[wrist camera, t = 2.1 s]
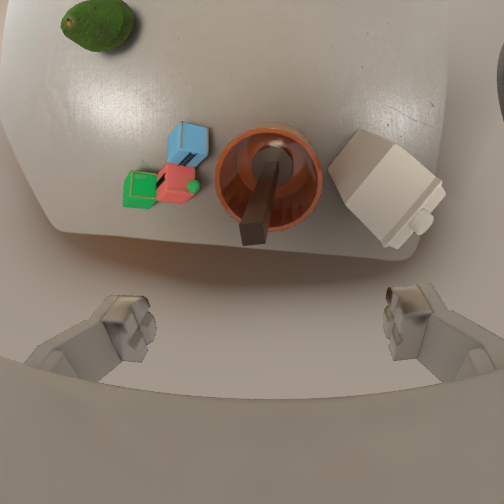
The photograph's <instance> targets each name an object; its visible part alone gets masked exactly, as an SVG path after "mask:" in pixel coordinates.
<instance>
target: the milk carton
mask: <svg viewBox="0 0 504 504" xmlns="http://www.w3.org/2000/svg"><path fill="white" fill-rule="evenodd" d="M327 170H328V172H329V174H330V176H331V178H332V180H333V182H334V184H335V186H336V187H337V189H338V191H339V193H340V195H341V197H342V199H343V201H344V203H345V206H346V207H347V208H348V209H349V210H350V211H351V212H352V213H353V214H354V215H355V216H356V217H357V218H358V219H359V220H360V221H361V222H362V223H363V224H364V225H365V226H366V227H367V228H368V229H369V230H370V231H371V232H372V233H373V234H374V235H375V236H376V237H377V238H378V239H379V240H380V242H381V243H382V245H383V247H384V248H387V247H388V246H391V247H393V248H395V249H399V248H400V247H401V246H402V245H403V244H404V243H405V241H406V240H407V239H408V238H409V237H410V236H411V235H412V234H413V233H414V231H415V233H416V234H417V235H421V234H423V233H424V232H425V231H426V230H427V229H428V228H429V227H430V226H431V224H432V223H433V220H434V217H433V216H432V215H431V214H430V213H431V212H432V211H433V209H434V208H435V207H436V206H437V205H438V204H439V203H440V201H441V200H442V199H443V198H444V196H445V195H446V193H445V191H444V189H443V188H442V186H441V184H442V181H441V180H440V179H438V178H436V177H435V176H434V175H433V174H432V173H431V172H430V171H429V170H428V169H426V168H425V167H424V166H423V165H422V164H421V163H419V162H418V161H417V160H416V159H415V158H414V157H412V156H411V155H410V154H409V153H408V152H406V151H405V150H404V149H403V148H401V147H400V146H399V145H398V144H396V143H394V142H391V141H389V140H387V139H384V138H382V137H379V136H377V135H375V134H372V133H370V132H367V131H364V130H362V129H359V130H358V131H357V132H356V133H355V134H354V136H353V137H352V138H351V139H350V141H349V142H348V143H347V144H346V146H345V147H344V148H343V149H342V151H341V152H340V153H339V154H338V156H337V157H336V158H335V159H334V161H333V162H332V163H331V164H330V166H329V167H328V169H327Z"/></svg>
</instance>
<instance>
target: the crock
mask: <svg viewBox="0 0 504 504" xmlns="http://www.w3.org/2000/svg"><path fill="white" fill-rule="evenodd" d="M268 144H279V145H282V146H284V147H285V148H286V149H288V151H289V152H290V153H291V155H292V157H293V167H294V168H293V173H292V176H291V178H290V179H289V180H288V181H287V182H286V183H285V184H283V185H281V186H278V187H276V191H275V196H274V201H273V206H272V212H271V217H270V222H269V227H268V232H273V231H282V230H285V229H288V228H291V227H294V226H296V225H297V224H299V223H300V222H302V221H303V220H305V219H306V218H307V217H308V216H309V215H310V213H311V212H312V211H313V210H314V208H315V207H316V205H317V203H318V201H319V199H320V196H321V192H322V186H323V177H322V169H321V166H320V163H319V161H318V158H317V156H316V154H315V152H314V150H313V148H312V146H311V144H310V142H309V141H308V139H307V138H306V137H305V136H304V135H303V134H302V133H301V132H300V131H299V130H297V129H296V128H294V127H292V126H290V125H288V124H285V123H280V122H267V123H262V124H259V125H257V126H255V127H252V128H251V129H249V130H247V131H246V132H244V133H242V134H240V135H239V136H238V137H236V138H235V139H234V140H233V141H231V142H230V143H229V144H228V145H227V146H226V148H225V149H224V151H223V152H222V153H221V155H220V157H219V160H218V162H217V165H216V169H215V187H216V192H217V196H218V198H219V200H220V202H221V204H222V206H223V207H224V209H225V210H226V211H227V212H228V213H229V214H230V216H231V217H232V218H234V219H235V220H236V221H238V222H239V223H240V222H241V219H242V217H243V215H244V212H245V210H246V208H247V205H248V203H249V201H250V198H251V196H252V194H253V191H254V189H255V187H256V184H257V182H258V181H257V180H256V178H255V177H254V175H253V172H252V161H253V158H254V156H255V155H256V154H257V152H258V151H259V150H260V149H261V148H262V147H263V146H265V145H268Z"/></svg>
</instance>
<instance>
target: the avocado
mask: <svg viewBox="0 0 504 504" xmlns="http://www.w3.org/2000/svg"><path fill="white" fill-rule="evenodd" d="M133 26H134V15H133V12H132V10H131V9H130V7H129V6H128V5H127V4H126V3H124V2H123V1H122V0H88V1H84V2H81V3H79V4H77V5H75V6H74V7H72V8H71V9H70V10H68V11H67V13H66V14H65V16H64V17H63V19H62V22H61V29H62V31H63V33H64V35H65V36H66V37H68V38H69V39H71V40H72V41H74V42H75V43H77V44H78V45H80V46H82V47H83V48H85V49H87V50H90V51H92V52H101V51H107V50H110V49H112V48H115V47H117V46H119V45H120V44H122V43H123V42H125V40H126V39H127V38H128V36H129V35H130V33H131V31H132V29H133Z"/></svg>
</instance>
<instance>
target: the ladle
mask: <svg viewBox="0 0 504 504" xmlns="http://www.w3.org/2000/svg"><path fill="white" fill-rule="evenodd" d="M293 168H294V167H293V157H292V155H291V153H290V152H289V151H288V149H286V148H285V147H284V146H282V145H279V144H268V145H265V146H263V147H262V148H261V149H260V150H259V151H258V152H257V154H256V155H255V156H254V158H253V161H252V172H253V175H254V177H255V178H256V180H257V181H258V182H257V184H256V187H255V189H254V191H253V194H252V196H251V198H250V201H249V203H248V205H247V208H246V210H245V212H244V215H243V217H242V219H241V222H240V224H239V228H240V233H241V239H242V244H243V246H247V245H257V244H265V243H266V238H267V233H268V227H269V222H270V217H271V212H272V206H273V201H274V196H275V191H276V187H278V186H281V185H283V184H285V183H286V182H287V181H288V180H289V179H290V178H291V176H292V173H293Z"/></svg>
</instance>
